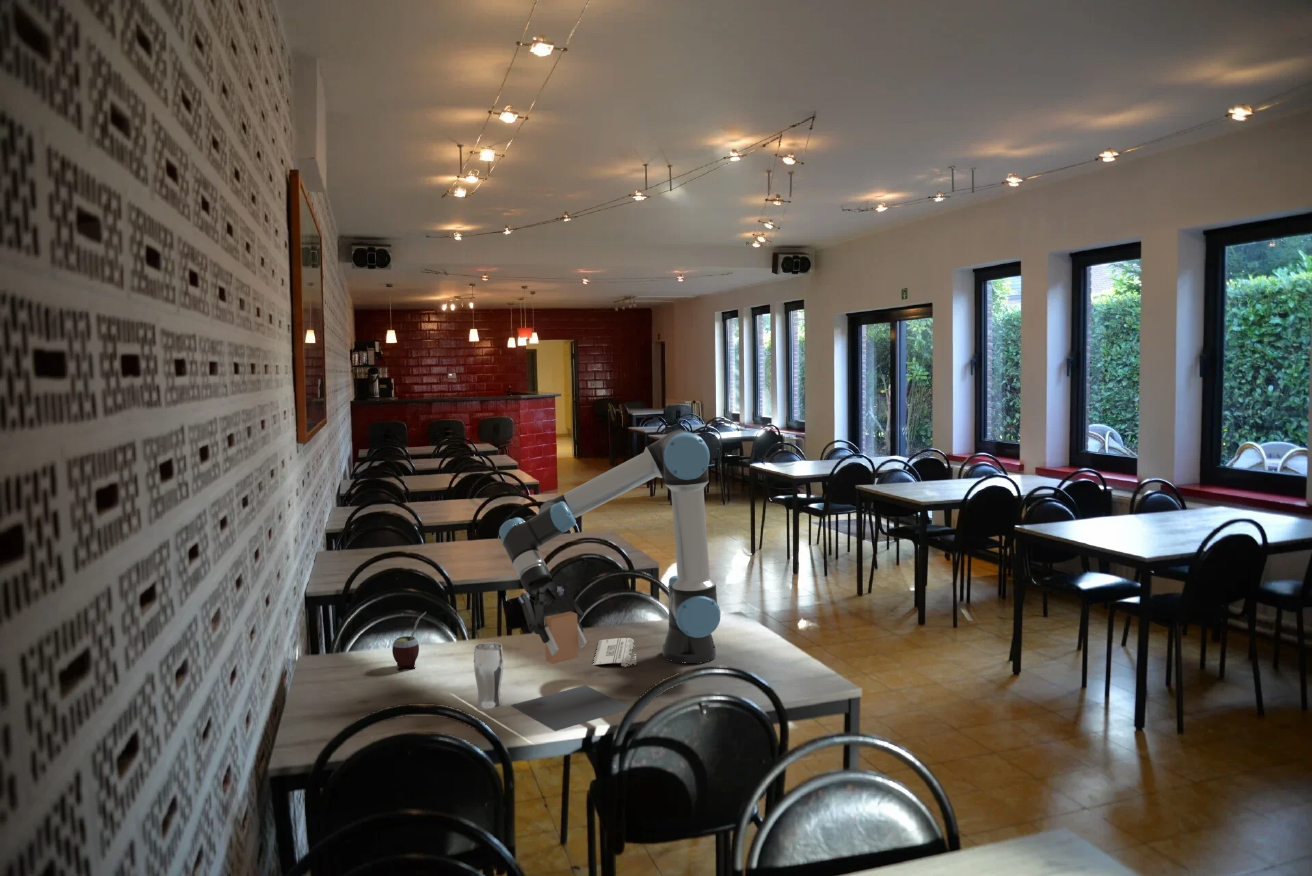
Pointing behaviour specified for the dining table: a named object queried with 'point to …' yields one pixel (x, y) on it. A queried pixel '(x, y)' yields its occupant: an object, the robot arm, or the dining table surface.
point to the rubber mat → (570, 707)
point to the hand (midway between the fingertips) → (569, 648)
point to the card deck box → (563, 636)
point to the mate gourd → (406, 650)
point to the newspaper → (614, 651)
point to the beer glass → (488, 674)
